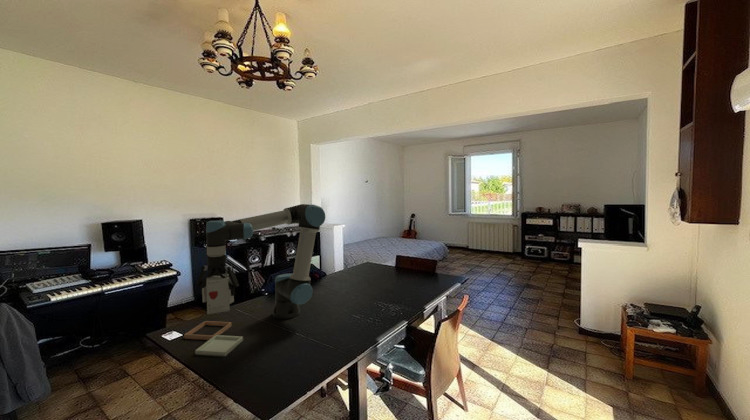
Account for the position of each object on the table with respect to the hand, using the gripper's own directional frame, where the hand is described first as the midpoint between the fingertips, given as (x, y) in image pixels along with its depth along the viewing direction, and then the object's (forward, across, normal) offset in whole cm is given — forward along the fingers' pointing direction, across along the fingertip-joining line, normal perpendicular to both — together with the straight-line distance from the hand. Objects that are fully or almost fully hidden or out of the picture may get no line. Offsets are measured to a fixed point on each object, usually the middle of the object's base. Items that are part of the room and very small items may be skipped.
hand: (218, 302), depth 136 cm
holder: (+21, +15, -13) cm, 29 cm away
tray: (+21, 0, 0) cm, 21 cm away
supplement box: (+4, 0, 0) cm, 4 cm away
